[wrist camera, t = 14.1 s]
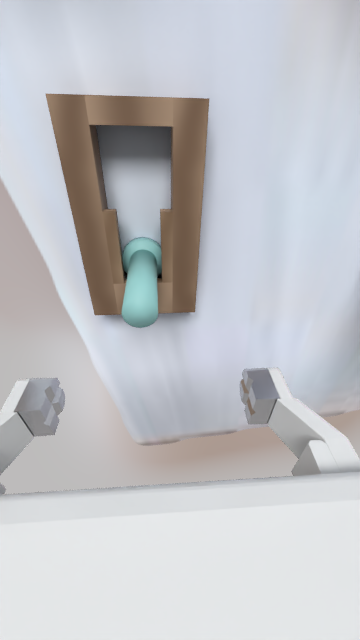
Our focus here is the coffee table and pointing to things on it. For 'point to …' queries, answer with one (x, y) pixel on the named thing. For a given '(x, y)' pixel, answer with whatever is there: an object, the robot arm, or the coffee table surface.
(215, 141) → the coffee table surface
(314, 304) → the coffee table surface
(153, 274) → the peg
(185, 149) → the keyhole plate
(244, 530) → the robot arm
